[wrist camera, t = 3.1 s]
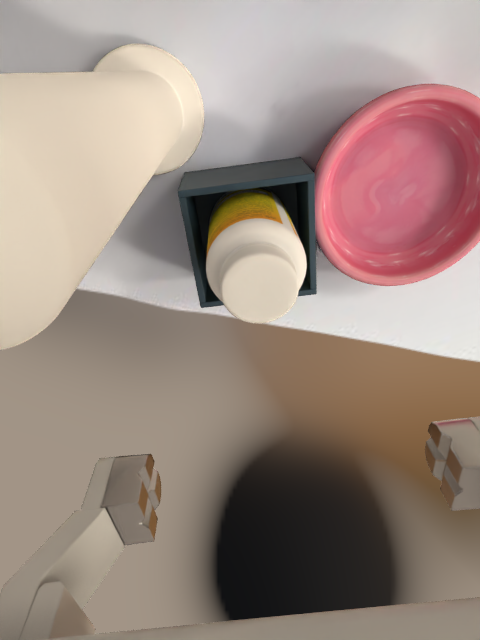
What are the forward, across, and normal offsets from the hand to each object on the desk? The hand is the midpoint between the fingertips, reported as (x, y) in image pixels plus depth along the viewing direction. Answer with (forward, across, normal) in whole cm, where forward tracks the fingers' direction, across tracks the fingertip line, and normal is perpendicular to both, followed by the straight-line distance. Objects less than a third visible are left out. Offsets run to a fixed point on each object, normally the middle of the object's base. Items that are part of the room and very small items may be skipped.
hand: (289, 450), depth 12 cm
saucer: (+20, -10, -2) cm, 23 cm away
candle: (+20, +6, -8) cm, 22 cm away
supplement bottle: (+20, 0, 0) cm, 20 cm away
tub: (+20, 0, 0) cm, 20 cm away
